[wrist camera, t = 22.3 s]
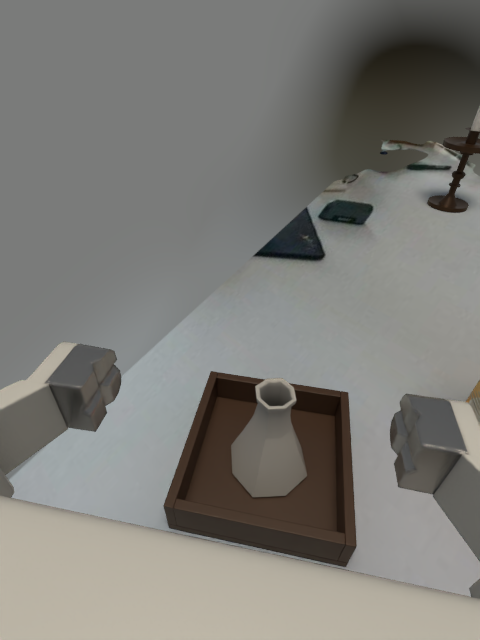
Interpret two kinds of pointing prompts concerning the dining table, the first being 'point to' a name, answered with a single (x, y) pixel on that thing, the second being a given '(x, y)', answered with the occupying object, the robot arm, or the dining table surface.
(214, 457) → the tray
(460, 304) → the dining table surface
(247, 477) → the flask
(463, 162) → the candlestick
